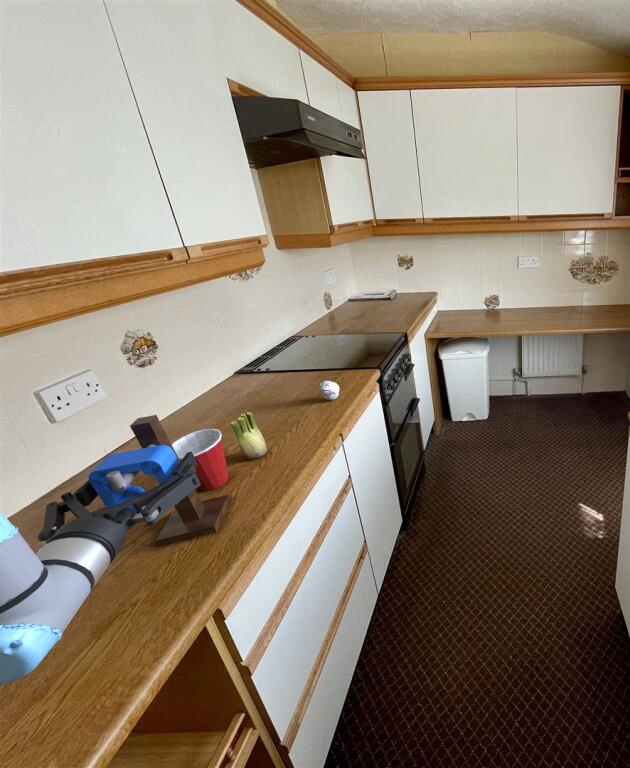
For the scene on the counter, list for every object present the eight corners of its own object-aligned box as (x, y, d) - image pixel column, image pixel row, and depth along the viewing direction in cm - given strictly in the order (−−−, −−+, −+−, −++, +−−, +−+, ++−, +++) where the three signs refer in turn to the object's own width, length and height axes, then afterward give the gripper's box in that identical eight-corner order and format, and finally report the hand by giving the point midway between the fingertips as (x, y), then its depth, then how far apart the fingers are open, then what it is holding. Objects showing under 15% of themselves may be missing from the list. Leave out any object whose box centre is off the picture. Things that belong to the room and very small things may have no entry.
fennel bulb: (248, 464, 103) (230, 424, 98) (242, 457, 106) (225, 417, 101) (272, 453, 106) (256, 414, 101) (266, 447, 110) (250, 408, 104)
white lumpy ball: (318, 405, 130) (311, 385, 127) (328, 395, 137) (322, 376, 133) (336, 404, 130) (330, 385, 127) (345, 394, 136) (340, 375, 133)
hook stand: (201, 565, 74) (139, 454, 64) (137, 582, 72) (60, 470, 61) (230, 499, 91) (185, 402, 80) (179, 511, 88) (124, 413, 77)
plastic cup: (174, 497, 93) (150, 454, 88) (213, 468, 102) (193, 427, 97) (214, 501, 91) (192, 457, 86) (250, 470, 100) (232, 429, 95)
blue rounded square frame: (181, 504, 72) (157, 458, 68) (114, 520, 70) (84, 473, 65) (191, 487, 77) (169, 443, 72) (128, 501, 74) (101, 456, 70)
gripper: (-24, 604, 54) (76, 501, 72) (193, 549, 60) (234, 467, 78) (-62, 564, 50) (52, 466, 69) (172, 510, 57) (219, 434, 75)
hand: (149, 466), depth 73 cm, fingers open, 13 cm apart
